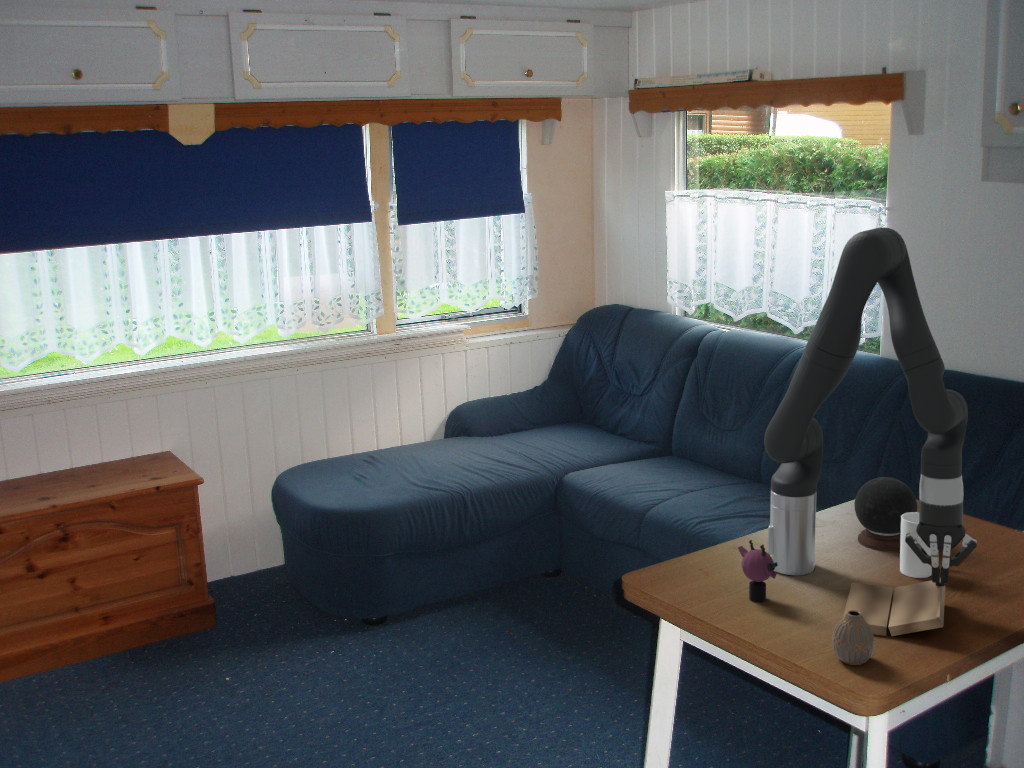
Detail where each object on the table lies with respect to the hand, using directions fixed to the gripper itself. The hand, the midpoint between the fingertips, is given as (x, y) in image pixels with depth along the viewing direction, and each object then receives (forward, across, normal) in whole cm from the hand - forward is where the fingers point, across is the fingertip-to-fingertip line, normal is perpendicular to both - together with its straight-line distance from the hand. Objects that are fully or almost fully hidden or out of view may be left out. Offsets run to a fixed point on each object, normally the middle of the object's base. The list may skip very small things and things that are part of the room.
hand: (940, 584), depth 188 cm
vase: (+5, -13, -25) cm, 29 cm away
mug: (+5, -4, +19) cm, 20 cm away
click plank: (+3, -3, -5) cm, 7 cm away
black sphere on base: (+5, -12, +33) cm, 35 cm away
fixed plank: (+5, -12, -5) cm, 14 cm away
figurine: (+4, -33, -6) cm, 34 cm away
